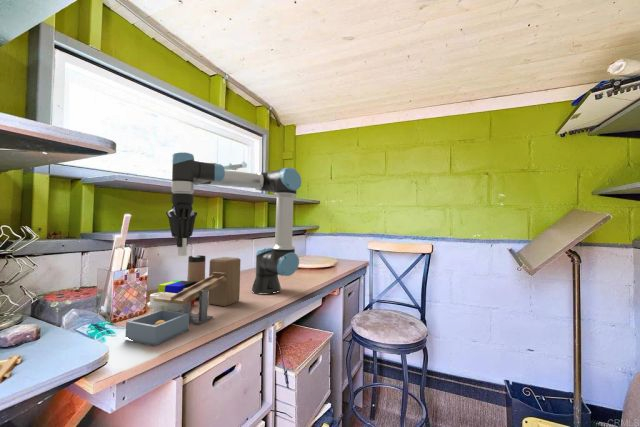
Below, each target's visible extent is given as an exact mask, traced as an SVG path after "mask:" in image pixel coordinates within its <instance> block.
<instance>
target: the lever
mask: <svg viewBox="0 0 640 427" xmlns="http://www.w3.org/2000/svg"><path fill="white" fill-rule="evenodd" d="M224 281H226V273H220V272H213V275H212V276H210V277H209V276H208V277H205V279H204V280H202V281H200V282H198V283H196V284H194V285H192V286H191V287H189V288H187V289H185V290H183V291H181V292H179V293H168V292H165V293H163V294H161V295H159V296H157V297H155V298H153V299H154V301H155V302H163V303H176V304H183V305H186V304H187V303H189V302H191V301H192V300H194V299H196V298H197V297H199V296H200V291H201V290H204V289H208V292H209V290H211V289H213V288H214V287H216V286H218V285H219V284H221V283H223V282H224Z"/></svg>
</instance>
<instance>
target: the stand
mask: <svg viewBox="0 0 640 427" xmlns="http://www.w3.org/2000/svg"><path fill="white" fill-rule="evenodd" d="M188 288H189V287H188ZM185 289H187V288H184V289H183V290H185ZM208 294H209V291H208V289H204V290H201V291H200V297H199V300H198V303H199V304H198V313H193V312H191V309H192V308H191V307H192V306H191V302H189V303H187V304H186V305H183V304H182V310H181V312H182V313H188V314H189V324H192V325H197V326H199V325H200V326H201V325H202V324H204V323H206V322H208V321H211V320H212V319H214V316H212V315H208V309H209V308H208V307H209V306H208V305H209V303H208Z"/></svg>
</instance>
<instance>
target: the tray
mask: <svg viewBox="0 0 640 427" xmlns="http://www.w3.org/2000/svg"><path fill="white" fill-rule="evenodd" d="M159 320H164V321H165V322H164V323H161V324H158V325H156V326H155V325H154V324H155V323H156V322H157V321H159ZM125 322H126V323H125V337H128V338H129V339H131V340H133V341H134V342H133V343H135V344H141V345H146V346H149V347H156V346H159V345H160V344H162V343H165V342H166V341H167V342H168V340H170V339H173V338H176V337H177V336H180V335H182V334H184V333H187V332H188V331H189V330H190V328H189V327H190V326H189V325H190V323H189V314H188V313H182V311H171V310H160V311H157V312H154V313H152V312H151V313H149V314H145V315H141V316H140V317H136V318H133V319H130V320H127V321H125Z"/></svg>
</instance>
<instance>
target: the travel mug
mask: <svg viewBox="0 0 640 427" xmlns="http://www.w3.org/2000/svg"><path fill="white" fill-rule="evenodd" d="M187 260H188V262H187V263H188V264H187V278H186V279H187V280H186V281H194V282H195V284H196V283H198V282H200V281H202V280H204V279H206V255H196V256H192V255H190V256H188V258H187ZM199 297H200V296H199ZM199 297H197V298H196V299H195V301H199Z"/></svg>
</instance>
